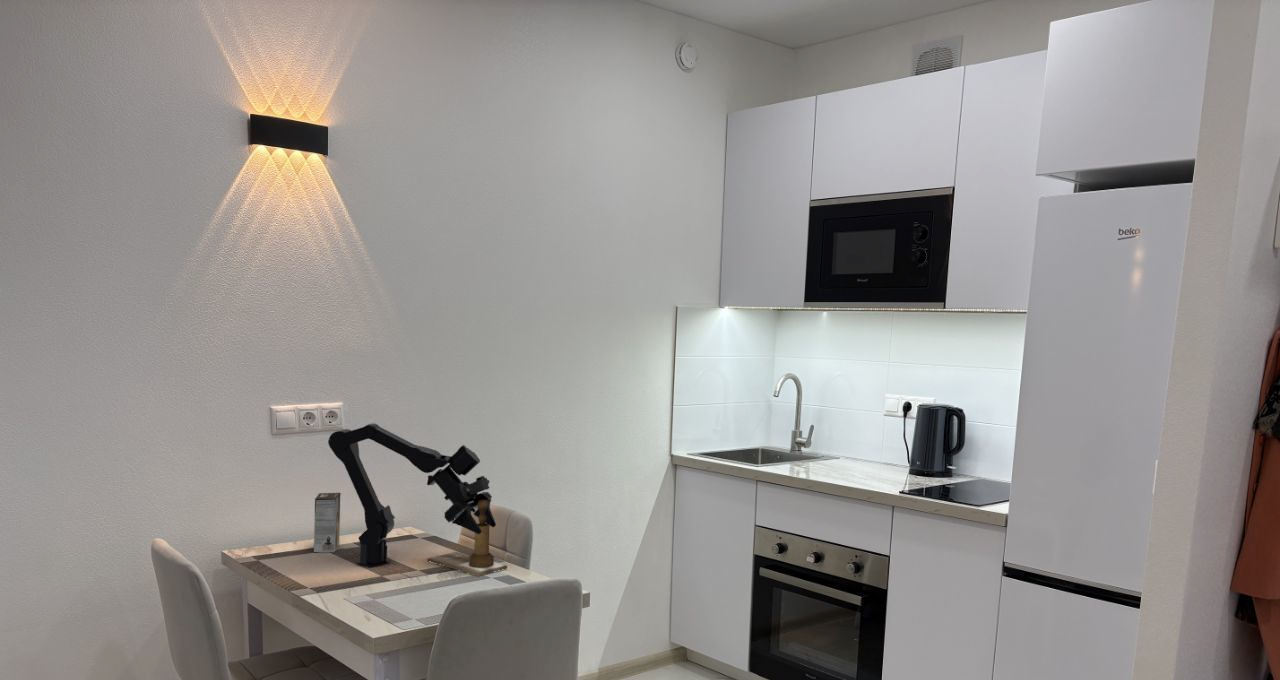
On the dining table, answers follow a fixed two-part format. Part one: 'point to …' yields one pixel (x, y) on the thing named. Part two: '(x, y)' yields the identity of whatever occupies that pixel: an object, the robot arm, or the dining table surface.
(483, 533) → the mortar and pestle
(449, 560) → the grey brown flat rectangle
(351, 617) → the dining table surface
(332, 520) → the coffee box
